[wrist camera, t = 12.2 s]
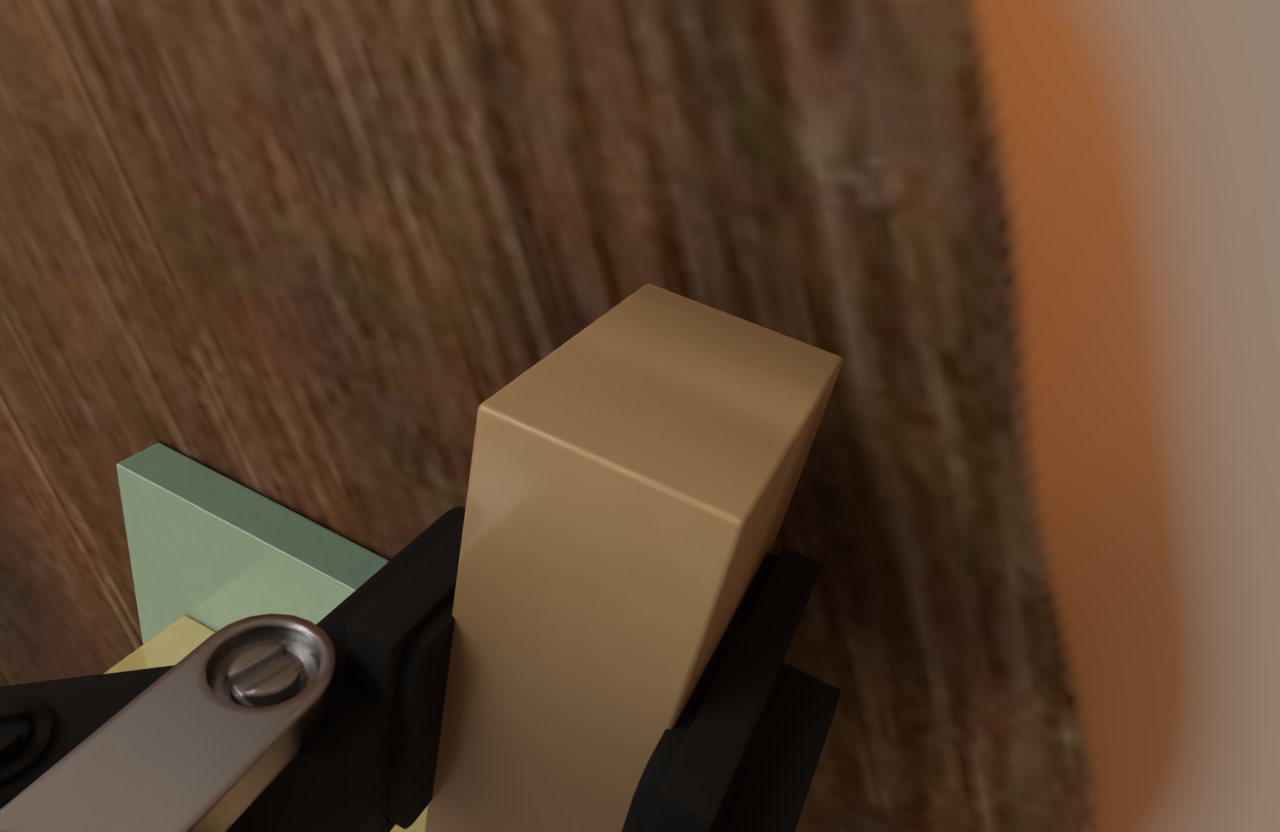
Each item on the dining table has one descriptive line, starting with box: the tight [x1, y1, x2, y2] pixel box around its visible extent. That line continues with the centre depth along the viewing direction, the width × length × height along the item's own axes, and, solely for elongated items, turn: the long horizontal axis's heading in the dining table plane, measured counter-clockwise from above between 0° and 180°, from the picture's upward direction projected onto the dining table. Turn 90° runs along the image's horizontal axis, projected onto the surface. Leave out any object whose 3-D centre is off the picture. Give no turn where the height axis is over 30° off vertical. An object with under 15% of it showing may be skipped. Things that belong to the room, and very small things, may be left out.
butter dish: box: [104, 443, 428, 832], centre depth 17 cm, size 10×14×4 cm
